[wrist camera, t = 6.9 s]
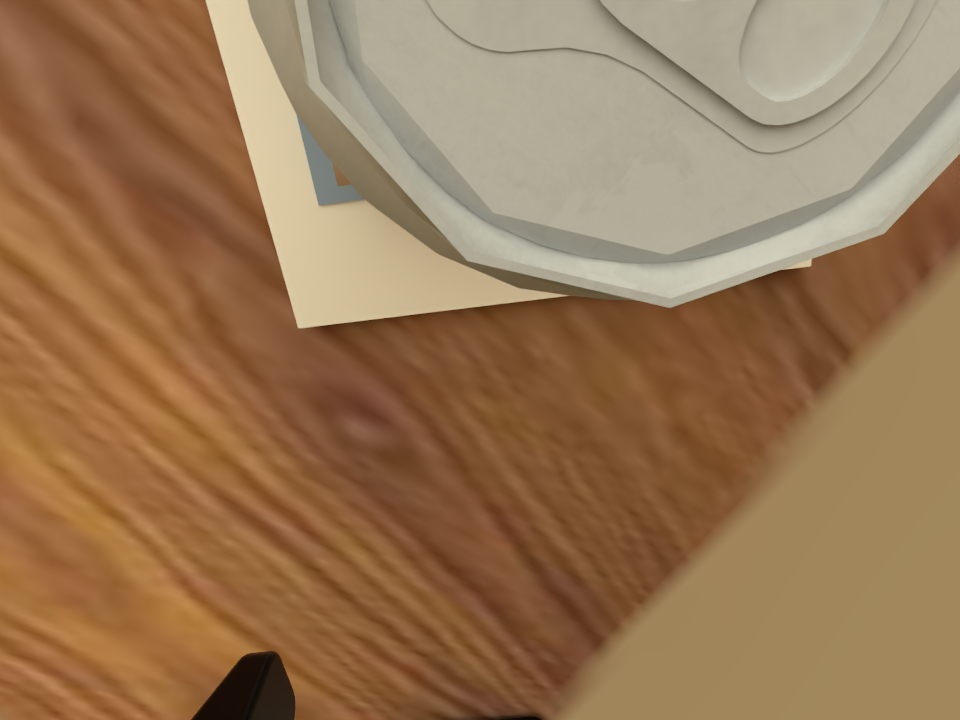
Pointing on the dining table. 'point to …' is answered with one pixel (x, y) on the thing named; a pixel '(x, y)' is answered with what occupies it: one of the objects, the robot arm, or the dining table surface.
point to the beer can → (627, 128)
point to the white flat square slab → (334, 210)
